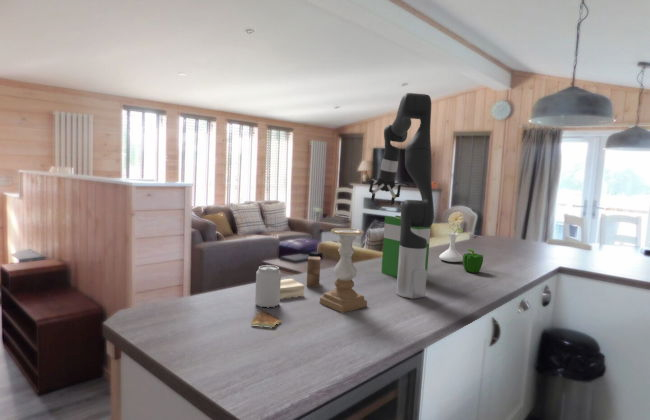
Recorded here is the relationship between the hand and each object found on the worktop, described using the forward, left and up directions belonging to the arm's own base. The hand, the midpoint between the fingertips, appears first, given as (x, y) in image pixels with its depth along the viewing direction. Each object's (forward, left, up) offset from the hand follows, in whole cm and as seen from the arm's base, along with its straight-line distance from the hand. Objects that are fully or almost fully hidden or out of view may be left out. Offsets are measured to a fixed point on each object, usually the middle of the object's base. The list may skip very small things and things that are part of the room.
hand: (382, 203), depth 196 cm
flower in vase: (-14, -34, -28) cm, 46 cm away
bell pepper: (-32, -27, -28) cm, 50 cm away
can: (-38, +74, -28) cm, 87 cm away
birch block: (-30, +64, -28) cm, 76 cm away
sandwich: (-50, +81, -28) cm, 99 cm away
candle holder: (-47, +52, -28) cm, 75 cm away
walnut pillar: (-24, +50, -27) cm, 62 cm away
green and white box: (-27, +9, -28) cm, 40 cm away
